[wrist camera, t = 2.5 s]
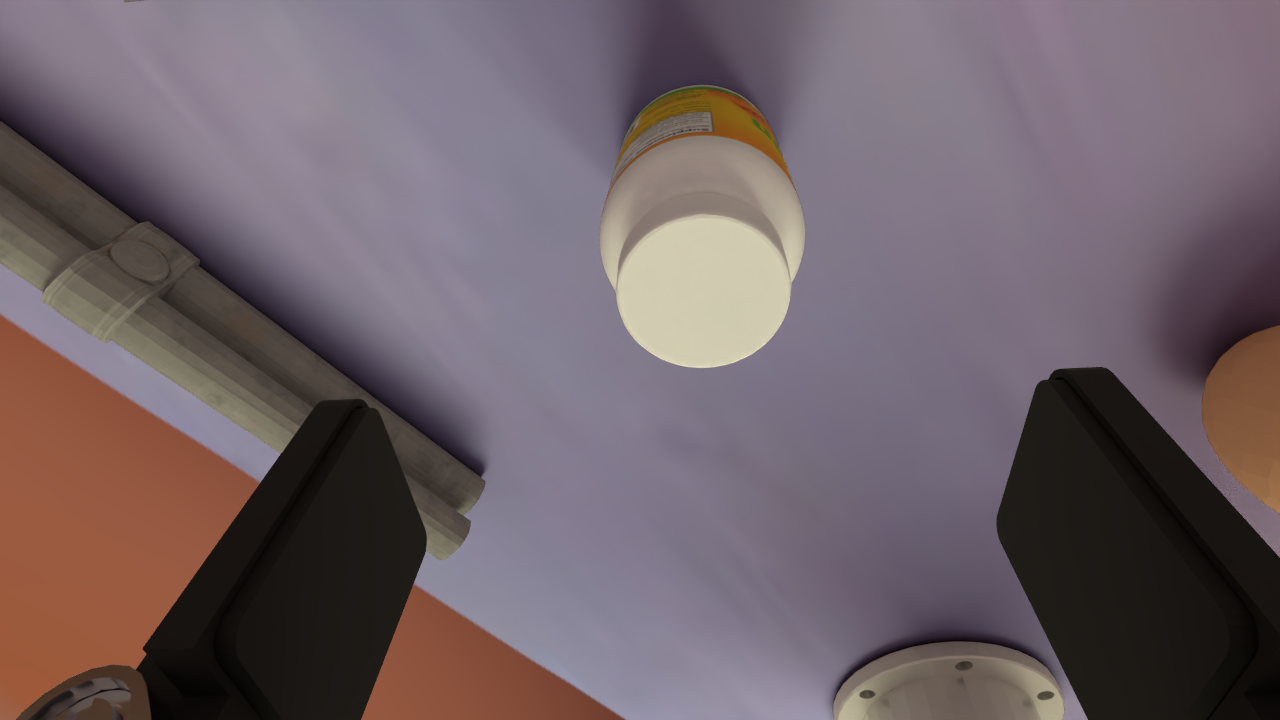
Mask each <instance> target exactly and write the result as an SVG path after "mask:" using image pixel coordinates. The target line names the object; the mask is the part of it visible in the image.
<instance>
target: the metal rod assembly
mask: <svg viewBox="0 0 1280 720" xmlns="http://www.w3.org/2000/svg"><path fill="white" fill-rule="evenodd" d="M0 263H1V264H2V265H4V266H5V267H7V268H8V269H10V270H11V271H13V272H14V273H16V274H17V275H19V276H20V277H22V278H23V279H24V280H26V281H27V282H29V283H30V284H32V285H33V286H35V287H36V288H38V289H39V290H41V291H42V292H43V294H42V299H41V301H42V302H44V303H46V304H47V305H49V306H51V307H52V308H53V309H55V310H56V311H57V312H58V313H60V314H61V315H62V316H64V317H65V318H67V319H68V320H70V321H71V322H73V323H74V324H76V325H77V326H79V327H80V328H82V329H83V330H85V331H86V332H87V333H89V334H90V335H92V336H95V337H97V338H98V339H99V340H101V341H102V342H104V343H105V342H108V341H111V340H112V341H113V342H115V343H116V344H118V345H119V346H121V347H122V348H124V349H125V350H127V351H128V352H130V353H131V354H133V355H134V356H136V357H137V358H139V359H140V360H142V361H143V362H145V363H146V364H148V365H149V366H151V367H152V368H154V369H155V370H157V371H158V372H160V373H161V374H163V375H164V376H166V377H167V378H169V379H170V380H172V381H173V382H175V383H176V384H178V385H179V386H181V387H182V388H184V389H185V390H187V391H188V392H190V393H191V394H193V395H194V396H196V397H197V398H199V399H200V400H202V401H203V402H204V403H206V404H207V405H209V406H210V407H212V408H213V409H215V410H216V411H218V412H219V413H221V414H222V415H224V416H225V417H227V418H228V419H230V420H231V421H233V422H234V423H236V424H237V425H239V426H240V427H242V428H243V429H245V430H246V431H248V432H249V433H251V434H252V435H254V436H255V437H257V438H258V439H260V440H261V441H263V442H264V443H266V444H267V445H269V446H270V447H272V448H273V449H275V450H276V451H278V452H279V453H282V452H283V450H284V449H285V448H286V446H287V445H288V443H289V442H290V441H291V439H292V438H293V436H294V435H295V434H296V432H297V431H298V429H299V428H300V427H301V425H302V424H303V422H304V421H305V420H306V418H307V417H308V415H309V414H310V413H311V411H312V410H313V408H314V407H315V406H316V405H317V404H318V403H319V402H321V401H323V400H340V399H362V400H364V401H365V402H366V403H367V404H368V406H369V408H375V409H377V410H378V411H379V413H380V415H381V417H382V420H383V422H384V425H385V427H386V430H387V433H388V435H389V438H390V440H391V443H392V445H393V448H394V450H395V453H396V455H397V458H398V461H399V463H400V466H401V468H402V471H403V473H404V476H405V478H406V481H407V483H408V486H409V489H410V491H411V494H412V496H413V499H414V501H415V504H416V506H417V509H418V511H419V514H420V517H421V519H422V522H423V524H424V527H425V530H426V534H427V546H426V551H427V552H429V553H430V554H432V555H433V556H435V557H436V558H438V559H439V560H444V559H446V558H448V557H449V556H450V555H451V554H452V553H453V552H455V551H456V550H457V549H458V548H459V547H460V546H461V544H462V543H463V542H464V541H465V539H466V537H467V535H468V533H469V529H470V523H471V521H470V520H468V519H467V518H465V517H464V516H463V515H464V514H465V513H467V512H468V511H469V510H470V509H471V508H472V507H473V506H474V505H475V503H476V502H477V501H478V499H479V497H480V495H481V493H482V491H483V489H484V487H485V481H484V480H483V479H482V478H481V477H479V476H478V475H477V474H475V473H474V472H473V471H471V470H470V469H469V468H467V467H466V466H465V465H463V464H462V463H461V462H459V461H458V460H457V459H455V458H454V457H453V456H451V455H450V454H449V453H447V452H446V451H445V450H443V449H442V448H441V447H439V446H438V445H437V444H435V443H434V442H433V441H431V440H430V439H429V438H427V437H426V436H425V435H423V434H422V433H421V432H419V431H418V430H417V429H415V428H414V427H413V426H411V425H410V424H409V423H407V422H406V421H405V420H403V419H402V418H401V417H399V416H398V415H397V414H395V413H394V412H393V411H391V410H390V409H389V408H387V407H386V406H385V405H383V404H382V403H381V402H379V401H378V400H377V399H375V398H374V397H373V396H371V395H370V394H369V393H367V392H366V391H365V390H363V389H362V388H361V387H359V386H358V385H357V384H355V383H354V382H353V381H351V380H350V379H349V378H347V377H346V376H345V375H343V374H342V373H341V372H339V371H338V370H337V369H335V368H334V367H333V366H331V365H330V364H329V363H327V362H326V361H325V360H323V359H322V358H321V357H319V356H318V355H317V354H315V353H314V352H313V351H311V350H310V349H309V348H307V347H306V346H305V345H303V344H302V343H301V342H299V341H298V340H297V339H295V338H294V337H293V336H291V335H290V334H289V333H287V332H286V331H285V330H283V329H282V328H281V327H279V326H278V325H277V324H275V323H274V322H273V321H271V320H270V319H269V318H267V317H266V316H265V315H263V314H262V313H261V312H259V311H258V310H257V309H255V308H254V307H253V306H251V305H250V304H249V303H247V302H246V301H245V300H243V299H242V298H241V297H239V296H238V295H237V294H235V293H234V292H233V291H231V290H230V289H229V288H227V287H226V286H225V285H223V284H222V283H221V282H219V281H218V280H217V279H215V278H214V277H213V276H211V275H210V274H209V273H207V272H206V271H205V270H203V269H202V268H201V267H199V264H200V260H199V259H198V258H197V257H195V256H194V255H193V254H192V253H191V252H190V251H189V250H187V249H186V248H185V247H183V246H182V245H181V244H179V243H178V242H177V241H175V240H174V239H173V238H171V237H170V236H169V235H167V234H166V233H165V232H163V231H161V230H160V229H158V228H157V227H155V226H154V225H152V224H151V223H150V222H149V221H148V222H142V223H137V222H136V221H134V220H133V219H132V218H130V217H129V216H127V215H126V214H125V213H123V212H122V211H121V210H119V209H118V208H117V207H115V206H114V205H113V204H111V203H110V202H108V201H107V200H106V199H104V198H103V197H102V196H100V195H99V194H98V193H96V192H95V191H94V190H92V189H91V188H90V187H88V186H87V185H86V184H84V183H83V182H82V181H80V180H79V179H78V178H76V177H75V176H74V175H72V174H71V173H70V172H68V171H67V170H66V169H64V168H63V167H62V166H60V165H59V164H58V163H56V162H55V161H53V160H52V159H51V158H49V157H48V156H47V155H45V154H44V153H43V152H41V151H40V150H39V149H37V148H36V147H35V146H33V145H32V144H31V143H29V142H28V141H27V140H25V139H24V138H23V137H21V136H20V135H19V134H17V133H16V132H15V131H13V130H12V129H11V128H9V127H8V126H7V125H5V124H4V123H3V122H1V121H0Z"/></svg>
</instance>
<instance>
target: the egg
mask: <svg viewBox="0 0 1280 720" xmlns="http://www.w3.org/2000/svg"><path fill="white" fill-rule="evenodd" d="M1202 421H1203V425H1204V428H1205V431H1206V434H1207V437H1208V440H1209V443H1210V444H1211V446H1212V448H1213V449H1214V451H1215V453H1216V454H1217V456H1218V458H1219V460H1220V461H1221V462H1222V463H1223V464H1224V466H1225V467H1226V468H1227V469H1228V470H1229V472H1230V473H1231V474H1232V475H1233V476H1234V477H1235V479H1236V480H1237V481H1239V482H1240V483H1241V484H1242V485H1243V486H1244V487H1246V488H1247V489H1248V490H1249V491H1250V492H1251V493H1252V494H1254V495H1255V496H1256V497H1257V498H1258V499H1259V500H1261V501H1262V502H1263V503H1264V504H1266V505H1267V506H1269V507H1270V508H1272V509H1274V510H1275V511H1277V512H1278V513H1280V325H1278V326H1274V327H1271V328H1268V329H1265V330H1262V331H1259V332H1256V333H1253V334H1252V335H1250V336H1248V337H1246V338H1244V339H1243V340H1241V341H1239V342H1238V343H1236V344H1235V345H1234V346H1232V347H1231V348H1230V349H1229V350H1228V351H1227V352H1226V353H1224V354H1223V355H1222V356H1221V357H1220V358H1219V360H1218V361H1217V363H1216V364H1215V366H1214V367H1213V369H1212V371H1211V372H1210V374H1209V376H1208V378H1207V379H1206V383H1205V388H1204V393H1203V398H1202Z"/></svg>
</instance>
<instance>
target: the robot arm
mask: <svg viewBox="0 0 1280 720" xmlns="http://www.w3.org/2000/svg"><path fill="white" fill-rule="evenodd" d="M997 532H998V536H999V540H1000V542H1001V544H1002V546H1003V548H1004V550H1005V552H1006V554H1007V556H1008V559H1009V561H1010V563H1011V565H1012V567H1013V569H1014V571H1015V573H1016V575H1017V577H1018V579H1019V581H1020V583H1021V585H1022V587H1023V589H1024V591H1025V593H1026V595H1027V597H1028V599H1029V601H1030V603H1031V605H1032V607H1033V609H1034V611H1035V613H1036V615H1037V617H1038V619H1039V621H1040V623H1041V625H1042V627H1043V629H1044V631H1045V633H1046V635H1047V637H1048V639H1049V641H1050V643H1051V646H1052V648H1053V650H1054V652H1055V654H1056V656H1057V658H1058V660H1059V662H1060V664H1061V666H1062V668H1063V670H1064V672H1065V674H1066V676H1067V678H1068V680H1069V682H1070V684H1071V686H1072V688H1073V690H1074V692H1075V694H1076V696H1077V698H1078V700H1079V702H1080V704H1081V706H1082V708H1083V710H1084V712H1085V714H1086V716H1087V718H1088V720H1280V558H1279V556H1278V555H1277V554H1276V553H1275V552H1274V551H1273V550H1272V549H1271V548H1270V546H1269V545H1268V544H1267V543H1266V542H1265V541H1264V540H1263V539H1262V538H1261V537H1260V535H1259V534H1258V533H1257V532H1256V531H1255V530H1254V529H1253V528H1252V527H1251V525H1250V524H1249V523H1248V522H1247V521H1246V520H1245V519H1244V518H1243V517H1242V515H1241V514H1240V513H1239V512H1238V511H1237V510H1236V509H1235V508H1234V507H1233V506H1232V504H1231V503H1230V502H1229V501H1228V500H1227V499H1226V498H1225V497H1224V496H1223V494H1222V493H1221V492H1220V491H1219V490H1218V489H1217V488H1216V487H1215V486H1214V484H1213V483H1212V482H1211V481H1210V480H1209V479H1208V478H1207V477H1206V476H1205V475H1204V473H1203V472H1202V471H1201V470H1200V469H1199V468H1198V467H1197V466H1196V465H1195V463H1194V462H1193V461H1192V460H1191V459H1190V458H1189V457H1188V456H1187V455H1186V453H1185V452H1184V451H1183V450H1182V449H1181V448H1180V447H1179V446H1178V445H1177V444H1176V442H1175V441H1174V440H1173V439H1172V438H1171V437H1170V436H1169V435H1168V434H1167V432H1166V431H1165V430H1164V429H1163V428H1162V427H1161V426H1160V425H1159V424H1158V422H1157V421H1156V420H1155V419H1154V418H1153V417H1152V416H1151V415H1150V414H1149V413H1148V411H1147V410H1146V409H1145V408H1144V407H1143V406H1142V405H1141V404H1140V403H1139V401H1138V400H1137V399H1136V398H1135V397H1134V396H1133V395H1132V394H1131V393H1130V391H1129V390H1128V389H1127V388H1126V387H1125V386H1124V385H1123V384H1122V383H1121V382H1120V380H1119V379H1118V378H1117V377H1116V376H1115V375H1114V374H1113V373H1112V372H1111V371H1110V370H1108V369H1107V368H1103V367H1092V368H1068V369H1058V370H1055V371H1054V372H1053V373H1052V374H1051V375H1050V377H1049V379H1048V380H1043V381H1040V382H1039V383H1038V384H1037V386H1036V389H1035V392H1034V395H1033V398H1032V402H1031V405H1030V408H1029V411H1028V415H1027V418H1026V421H1025V425H1024V428H1023V431H1022V435H1021V438H1020V441H1019V445H1018V448H1017V451H1016V455H1015V458H1014V461H1013V465H1012V468H1011V471H1010V475H1009V478H1008V481H1007V485H1006V488H1005V491H1004V495H1003V498H1002V501H1001V505H1000V508H999V511H998V515H997ZM426 546H427V534H426V530H425V527H424V524H423V522H422V519H421V517H420V514H419V511H418V509H417V506H416V504H415V501H414V499H413V496H412V494H411V491H410V489H409V486H408V483H407V481H406V478H405V476H404V473H403V471H402V468H401V466H400V463H399V461H398V458H397V455H396V453H395V450H394V448H393V445H392V443H391V440H390V438H389V435H388V433H387V430H386V427H385V425H384V422H383V420H382V417H381V415H380V413H379V411H378V410H377V409H375V408H369V406H368V404H367V403H366V402H365V401H364V400H362V399H340V400H323V401H321V402H319V403H318V404H317V405H316V406H315V407H314V408H313V410H312V411H311V413H310V414H309V415H308V417H307V418H306V420H305V421H304V422H303V424H302V425H301V427H300V428H299V429H298V431H297V432H296V434H295V435H294V436H293V438H292V439H291V441H290V442H289V443H288V445H287V446H286V448H285V449H284V450H283V452H282V453H281V455H280V456H279V457H278V459H277V460H276V462H275V463H274V464H273V466H272V467H271V469H270V470H269V472H268V473H267V474H266V476H265V477H264V479H263V480H262V481H261V483H260V484H259V486H258V487H257V489H256V490H255V491H254V493H253V494H252V495H251V497H250V498H249V500H248V501H247V503H246V504H245V505H244V507H243V508H242V510H241V511H240V512H239V514H238V515H237V517H236V518H235V519H234V521H233V522H232V524H231V525H230V526H229V528H228V530H227V531H226V532H225V533H224V535H223V536H222V538H221V539H220V540H219V542H218V543H217V545H216V546H215V548H214V549H213V550H212V552H211V553H210V555H209V556H208V557H207V559H206V560H205V561H204V563H203V564H202V566H201V567H200V569H199V570H198V571H197V573H196V574H195V576H194V577H193V579H192V580H191V581H190V583H189V584H188V585H187V587H186V588H185V590H184V591H183V592H182V594H181V595H180V597H179V598H178V600H177V601H176V602H175V604H174V605H173V606H172V608H171V609H170V611H169V612H168V613H167V615H166V616H165V618H164V619H163V621H162V622H161V623H160V625H159V626H158V627H157V629H156V630H155V632H154V633H153V635H152V636H151V637H150V639H149V640H148V642H147V643H146V644H145V646H144V647H143V650H144V651H145V652H146V653H147V655H146V656H145V658H144V659H143V660H142V662H141V663H140V665H139V666H138V667H137V669H136V670H135V669H133V668H132V667H130V666H123V665H108V666H103V667H98V668H93V669H90V670H88V671H85V672H83V673H81V674H78V675H76V676H73V677H71V678H69V679H67V680H65V681H64V682H62V683H61V684H59V685H57V686H56V687H54V688H52V689H51V690H50V691H48V692H46V693H44V694H43V695H42V696H41V697H40V698H39V699H38V700H36V701H35V702H34V703H33V704H31V705H30V706H29V707H28V708H27V709H25V710H24V711H23V712H22V713H21V714H20V715H19V717H18V718H17V719H16V720H361V718H362V716H363V713H364V710H365V708H366V705H367V703H368V700H369V697H370V695H371V692H372V690H373V687H374V684H375V682H376V679H377V677H378V674H379V671H380V669H381V666H382V664H383V661H384V658H385V656H386V653H387V651H388V648H389V645H390V643H391V640H392V638H393V635H394V633H395V630H396V627H397V625H398V622H399V620H400V617H401V615H402V612H403V609H404V607H405V604H406V602H407V599H408V596H409V594H410V591H411V589H412V586H413V584H414V581H415V578H416V576H417V573H418V571H419V568H420V565H421V563H422V560H423V558H424V555H425V552H426ZM833 712H834V720H1062V719H1063V715H1064V712H1065V704H1064V697H1063V695H1062V693H1061V691H1060V689H1059V686H1058V684H1057V682H1056V680H1055V678H1054V677H1053V675H1052V674H1051V673H1050V671H1049V670H1048V669H1047V668H1046V667H1045V666H1044V665H1042V664H1041V663H1040V662H1038V661H1037V660H1036V659H1034V658H1032V657H1030V656H1028V655H1026V654H1024V653H1022V652H1020V651H1017V650H1014V649H1010V648H1007V647H1003V646H1000V645H995V644H988V643H981V642H963V641H951V642H939V643H930V644H924V645H919V646H914V647H909V648H906V649H903V650H900V651H896V652H893V653H890V654H887V655H885V656H883V657H881V658H879V659H877V660H874V661H872V662H870V663H869V664H867V665H866V666H864V667H863V668H861V669H859V670H858V671H856V672H855V673H854V674H853V675H852V676H851V677H850V678H849V679H848V680H847V681H846V682H845V683H844V684H843V685H842V687H841V688H840V690H839V692H838V693H837V695H836V698H835V701H834V705H833Z"/></svg>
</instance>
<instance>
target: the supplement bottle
mask: <svg viewBox="0 0 1280 720" xmlns="http://www.w3.org/2000/svg"><path fill="white" fill-rule="evenodd" d="M804 243H805V225H804V218H803V212H802V209H801V204H800V200H799V197H798V195H797V192H796V190H795V187H794V185H793V182H792V179H791V177H790V174H789V172H788V169H787V166H786V163H785V161H784V159H783V157H782V154H781V152H780V149H779V147H778V144H777V142H776V139H775V136H774V134H773V132H772V130H771V128H770V126H769V124H768V122H767V121H766V119H765V117H764V116H763V115H762V114H761V112H760V111H759V110H758V109H757V108H756V107H755V106H754V105H753V104H752V103H751V102H750V101H748V100H747V99H745V98H744V97H743V96H741V95H739V94H737V93H735V92H733V91H731V90H728V89H726V88H722V87H718V86H712V85H692V86H685V87H681V88H678V89H674V90H671V91H669V92H667V93H665V94H663V95H661V96H659V97H658V98H656V99H655V100H653V101H652V102H651V103H649V104H648V105H647V106H646V107H645V108H644V109H643V110H642V111H641V112H640V113H639V115H638V116H637V117H636V118H635V120H634V121H633V123H632V124H631V126H630V128H629V129H628V131H627V133H626V136H625V138H624V140H623V143H622V146H621V149H620V152H619V156H618V159H617V163H616V167H615V170H614V173H613V177H612V180H611V184H610V188H609V191H608V195H607V198H606V202H605V205H604V209H603V213H602V219H601V226H600V250H601V256H602V261H603V265H604V268H605V271H606V274H607V276H608V278H609V281H610V283H611V284H612V286H613V288H614V290H615V291H616V299H617V305H618V309H619V312H620V316H621V318H622V320H623V322H624V324H625V327H626V328H627V330H628V331H629V333H630V334H631V335H632V337H633V338H634V339H635V340H636V341H637V342H638V343H639V344H640V345H641V346H642V347H643V348H645V349H646V350H647V351H648V352H650V353H652V354H653V355H655V356H657V357H659V358H660V359H662V360H665V361H667V362H670V363H673V364H677V365H681V366H685V367H695V368H710V367H718V366H722V365H728V364H731V363H734V362H737V361H739V360H741V359H744V358H746V357H748V356H750V355H751V354H753V353H754V352H756V351H757V350H759V349H760V348H761V347H762V346H764V345H765V344H766V343H767V342H768V341H769V340H770V339H771V338H772V336H773V335H774V334H775V333H776V331H777V330H778V328H779V327H780V325H781V324H782V322H783V320H784V318H785V315H786V313H787V310H788V306H789V303H790V297H791V283H792V281H793V279H794V278H795V276H796V273H797V271H798V268H799V266H800V263H801V259H802V255H803V251H804Z"/></svg>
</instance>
